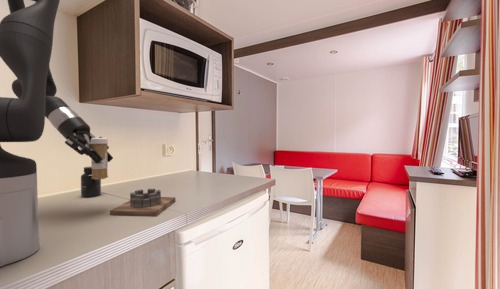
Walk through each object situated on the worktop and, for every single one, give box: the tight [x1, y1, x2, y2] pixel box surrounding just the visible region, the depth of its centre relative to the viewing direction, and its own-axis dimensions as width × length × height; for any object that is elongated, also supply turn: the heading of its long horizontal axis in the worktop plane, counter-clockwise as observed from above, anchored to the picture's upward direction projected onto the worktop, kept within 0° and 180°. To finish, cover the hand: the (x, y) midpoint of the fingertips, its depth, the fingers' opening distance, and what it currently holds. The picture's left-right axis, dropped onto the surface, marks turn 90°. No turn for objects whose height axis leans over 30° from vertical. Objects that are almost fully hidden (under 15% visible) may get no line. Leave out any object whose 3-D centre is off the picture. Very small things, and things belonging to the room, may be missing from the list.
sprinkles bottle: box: [91, 137, 109, 180], centre depth 73 cm, size 5×5×13 cm
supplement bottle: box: [80, 165, 102, 198], centre depth 92 cm, size 7×7×12 cm
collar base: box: [109, 188, 176, 217], centre depth 78 cm, size 16×15×6 cm
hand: (105, 160), depth 73 cm, fingers closed on sprinkles bottle, 4 cm apart
